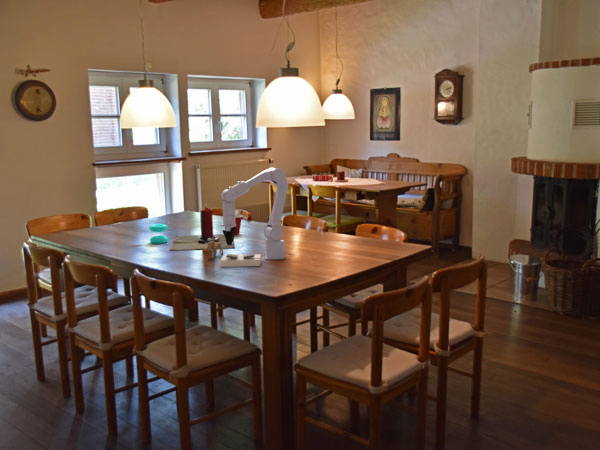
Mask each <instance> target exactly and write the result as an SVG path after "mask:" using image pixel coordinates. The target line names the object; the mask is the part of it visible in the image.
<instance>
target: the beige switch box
mask: <svg viewBox="0 0 600 450" xmlns="http://www.w3.org/2000/svg"><path fill="white" fill-rule="evenodd" d="M254 254H255V253H254ZM237 255H238V258H237V259H234V258H233V259H231V258H226V256H227V254H223V255H222V257H221V259H220V267H222V268H223V267H226V268H227V267H229V268H230V267H260V266H261V261H262V257H261V253H259V254H258V253H257V254H255V256H254V257H251V258H250V259H248V258H245V259H244V258H243V256H244V255H245V254H237Z"/></svg>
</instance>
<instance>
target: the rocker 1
mask: <svg viewBox="0 0 600 450" xmlns="http://www.w3.org/2000/svg"><path fill="white" fill-rule="evenodd" d="M226 255H227V256H226V258H231V259H233V258H234V259H237V258H238V255H239V254H231V253H227V254H226Z"/></svg>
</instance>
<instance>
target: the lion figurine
mask: <svg viewBox="0 0 600 450" xmlns="http://www.w3.org/2000/svg"><path fill="white" fill-rule="evenodd" d="M218 249H219V252H218ZM207 252H208V256H209V257H208V259H212V254H213V259H217V253H219V254H220V255H222V256H223V255H224V250H223V248H222V244H221V243H220V242H218V241H217V242H215V241H213V240H211V241H209V242H208V244H207Z"/></svg>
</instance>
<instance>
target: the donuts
mask: <svg viewBox="0 0 600 450" xmlns="http://www.w3.org/2000/svg"><path fill="white" fill-rule="evenodd" d="M167 230H168V225H167V224H164V223H157V224H156V223H154V224H151V225H150V226H149V231H151V232H153V233H162V232H165V231H167ZM168 241H169V238H168V236H167V235H154V236H151V238H150V239H149V242H150V243H151V244H153V245H155V244H157V245H159V244H166V243H168Z"/></svg>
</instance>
